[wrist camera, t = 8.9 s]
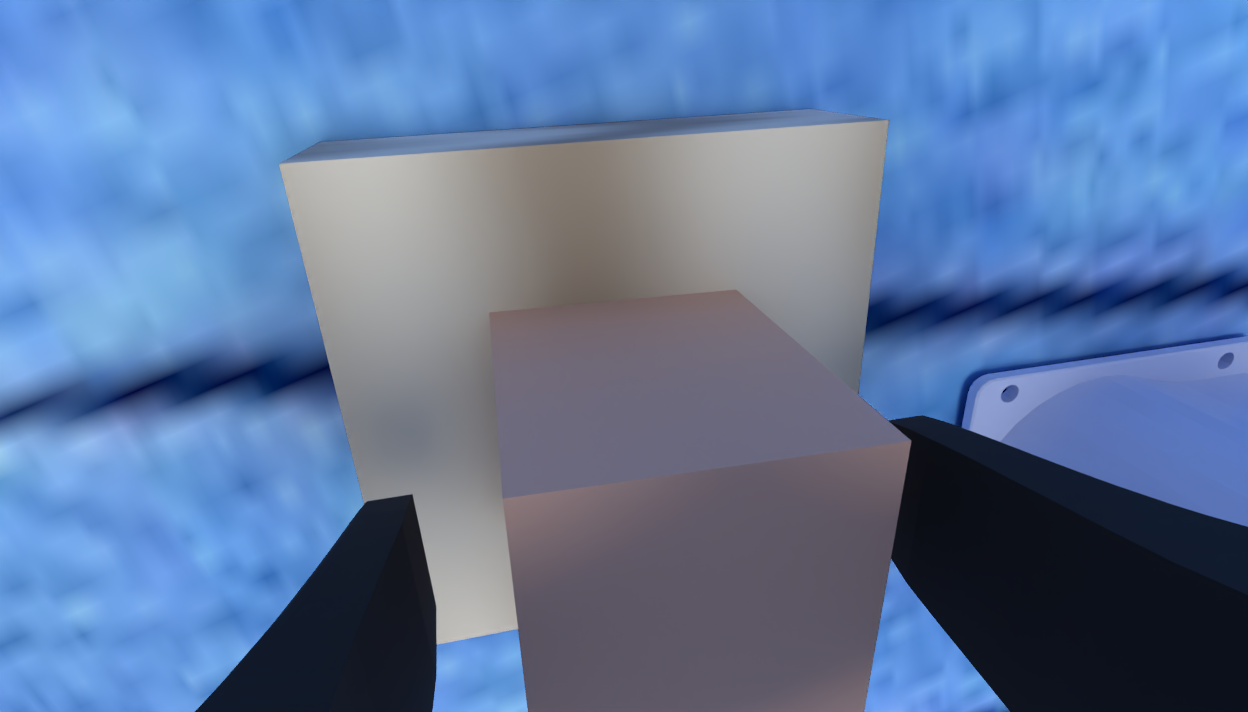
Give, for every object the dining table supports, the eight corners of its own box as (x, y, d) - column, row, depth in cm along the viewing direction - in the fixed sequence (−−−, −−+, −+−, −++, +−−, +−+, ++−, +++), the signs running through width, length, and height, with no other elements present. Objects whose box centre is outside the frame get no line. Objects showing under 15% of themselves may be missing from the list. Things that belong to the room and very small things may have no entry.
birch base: (810, 108, 14) (889, 119, 12) (785, 493, 18) (839, 566, 16) (319, 141, 13) (278, 163, 10) (412, 557, 17) (400, 651, 14)
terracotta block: (735, 290, 12) (911, 440, 7) (726, 491, 14) (862, 719, 9) (489, 312, 12) (502, 498, 7) (513, 523, 13) (538, 791, 8)
